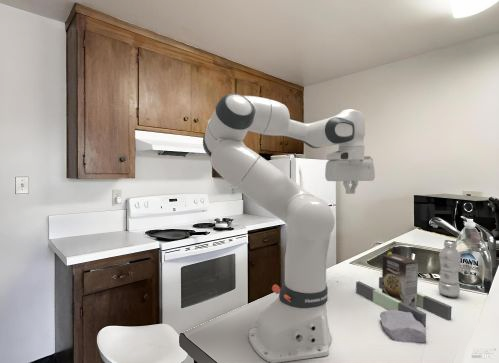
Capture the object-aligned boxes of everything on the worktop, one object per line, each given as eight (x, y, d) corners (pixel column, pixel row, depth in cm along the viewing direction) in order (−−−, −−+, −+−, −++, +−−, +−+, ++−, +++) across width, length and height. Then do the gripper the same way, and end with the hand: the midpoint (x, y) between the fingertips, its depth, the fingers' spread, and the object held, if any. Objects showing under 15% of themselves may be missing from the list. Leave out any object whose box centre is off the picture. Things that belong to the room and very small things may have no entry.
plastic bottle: (464, 297, 101) (466, 242, 100) (451, 300, 99) (453, 244, 98) (446, 290, 107) (447, 238, 106) (433, 293, 105) (435, 240, 104)
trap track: (422, 328, 81) (422, 314, 81) (355, 292, 105) (356, 281, 105) (451, 319, 86) (451, 306, 86) (381, 286, 110) (381, 276, 110)
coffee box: (380, 300, 99) (381, 254, 98) (394, 297, 101) (395, 252, 101) (403, 312, 91) (405, 262, 90) (417, 308, 93) (419, 260, 92)
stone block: (391, 348, 75) (431, 344, 74) (388, 330, 75) (427, 326, 74) (377, 325, 87) (410, 321, 86) (374, 310, 87) (407, 306, 86)
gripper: (366, 156, 109) (365, 192, 110) (322, 155, 101) (322, 193, 102) (379, 155, 103) (378, 193, 104) (334, 154, 95) (333, 195, 96)
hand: (350, 193), depth 103 cm, fingers closed
